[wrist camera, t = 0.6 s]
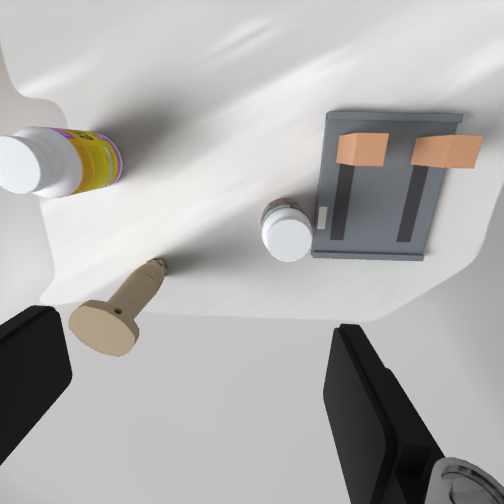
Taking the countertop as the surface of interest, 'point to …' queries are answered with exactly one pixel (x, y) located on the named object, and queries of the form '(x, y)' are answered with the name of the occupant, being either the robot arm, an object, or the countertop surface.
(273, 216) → the pill bottle
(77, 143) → the supplement bottle
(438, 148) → the tab
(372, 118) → the grey tray
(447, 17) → the countertop surface
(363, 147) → the orange rectangular block
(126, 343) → the handle
